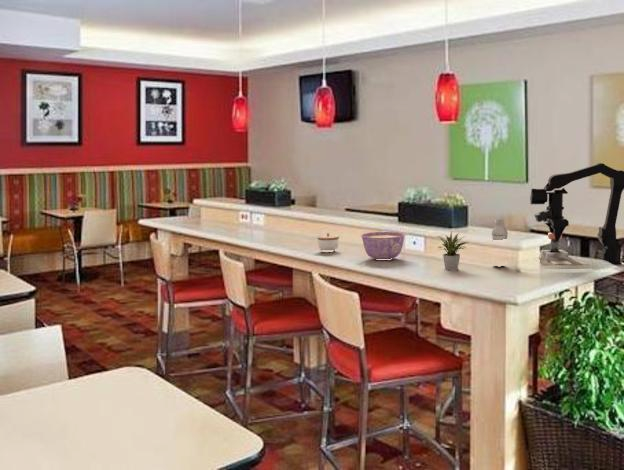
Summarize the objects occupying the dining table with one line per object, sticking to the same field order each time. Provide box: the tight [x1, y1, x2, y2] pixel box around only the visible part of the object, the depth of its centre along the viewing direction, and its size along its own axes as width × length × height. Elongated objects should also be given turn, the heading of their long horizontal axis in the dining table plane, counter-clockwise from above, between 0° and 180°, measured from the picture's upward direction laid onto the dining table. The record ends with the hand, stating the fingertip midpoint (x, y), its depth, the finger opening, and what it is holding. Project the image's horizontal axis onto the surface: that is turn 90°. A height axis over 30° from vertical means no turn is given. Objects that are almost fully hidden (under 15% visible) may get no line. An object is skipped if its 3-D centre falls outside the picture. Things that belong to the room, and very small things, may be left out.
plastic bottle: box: [491, 219, 508, 241], centre depth 294 cm, size 6×7×20 cm
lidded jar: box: [317, 232, 340, 251], centre depth 348 cm, size 11×11×9 cm
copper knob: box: [547, 231, 563, 253], centre depth 300 cm, size 6×6×9 cm
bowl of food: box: [361, 231, 406, 260], centre depth 322 cm, size 20×20×12 cm
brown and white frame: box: [539, 249, 584, 270], centre depth 297 cm, size 16×18×5 cm
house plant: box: [436, 230, 469, 271], centre depth 292 cm, size 14×14×16 cm
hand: (554, 240), depth 300 cm, fingers closed on copper knob, 6 cm apart
